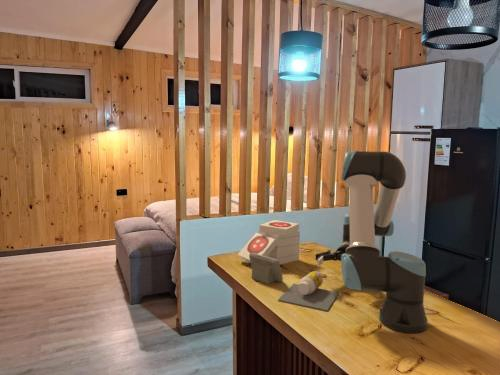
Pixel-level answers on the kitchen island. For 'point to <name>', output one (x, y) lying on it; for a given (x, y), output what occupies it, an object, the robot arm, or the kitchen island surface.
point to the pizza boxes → (274, 242)
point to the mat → (310, 298)
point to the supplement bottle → (310, 283)
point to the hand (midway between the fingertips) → (334, 266)
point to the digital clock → (265, 268)
